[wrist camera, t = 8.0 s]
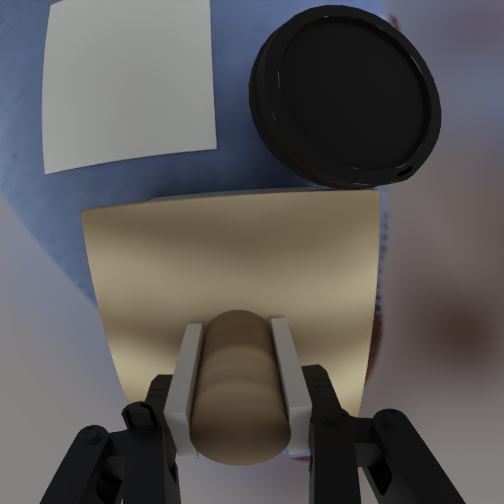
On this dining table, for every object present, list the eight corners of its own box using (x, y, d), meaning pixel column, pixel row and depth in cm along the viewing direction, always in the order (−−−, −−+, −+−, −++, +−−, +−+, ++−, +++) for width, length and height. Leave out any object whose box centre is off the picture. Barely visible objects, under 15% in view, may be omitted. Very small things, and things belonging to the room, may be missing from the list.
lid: (90, 207, 16) (-8, 247, 8) (370, 188, 16) (469, 214, 8) (142, 420, 20) (116, 511, 12) (352, 407, 20) (390, 496, 12)
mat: (53, 7, 19) (50, 5, 19) (209, -31, 20) (208, -34, 19) (48, 174, 24) (44, 174, 24) (217, 149, 25) (216, 148, 24)
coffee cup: (274, 193, 26) (320, 235, 12) (224, 104, 24) (208, 37, 9) (360, 149, 25) (476, 147, 11) (313, 62, 23) (387, -22, 9)
